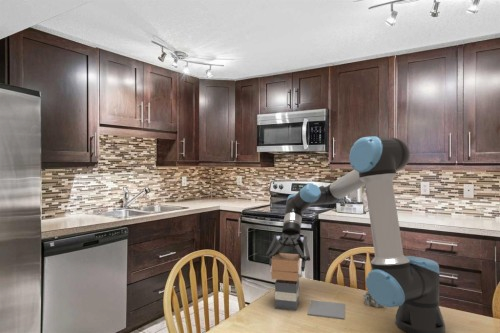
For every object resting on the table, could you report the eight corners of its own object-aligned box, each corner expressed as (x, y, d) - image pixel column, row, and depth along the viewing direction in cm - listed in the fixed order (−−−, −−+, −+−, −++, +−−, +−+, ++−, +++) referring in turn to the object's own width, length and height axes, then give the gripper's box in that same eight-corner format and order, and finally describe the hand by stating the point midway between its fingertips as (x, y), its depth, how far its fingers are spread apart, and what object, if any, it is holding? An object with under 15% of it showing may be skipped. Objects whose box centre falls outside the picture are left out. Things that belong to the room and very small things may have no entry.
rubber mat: (345, 304, 136) (345, 303, 136) (344, 319, 124) (344, 318, 124) (311, 301, 140) (311, 300, 140) (307, 315, 127) (307, 313, 127)
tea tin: (299, 302, 139) (299, 277, 139) (296, 310, 131) (296, 284, 131) (279, 300, 141) (279, 275, 141) (274, 308, 133) (274, 282, 133)
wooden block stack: (301, 273, 139) (301, 254, 139) (297, 281, 130) (297, 261, 130) (276, 271, 142) (276, 252, 142) (271, 279, 133) (271, 259, 133)
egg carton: (381, 309, 133) (381, 299, 132) (361, 305, 137) (361, 294, 137) (388, 300, 141) (388, 290, 141) (370, 296, 146) (370, 286, 145)
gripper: (319, 232, 148) (316, 281, 133) (267, 230, 154) (258, 276, 139) (318, 221, 142) (314, 272, 127) (264, 219, 149) (255, 267, 134)
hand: (285, 274), depth 133 cm, fingers closed on wooden block stack, 10 cm apart
